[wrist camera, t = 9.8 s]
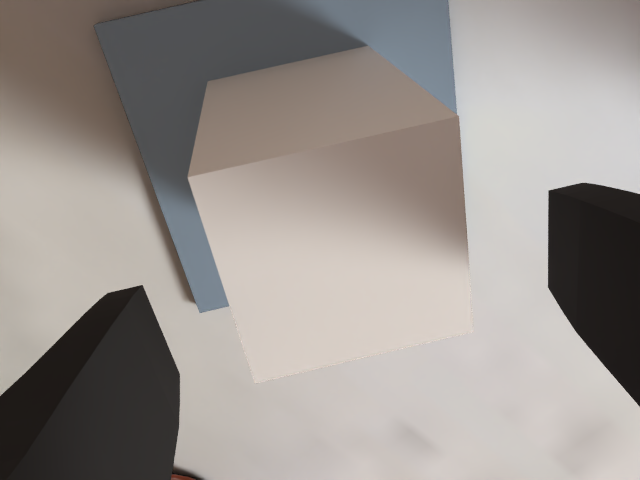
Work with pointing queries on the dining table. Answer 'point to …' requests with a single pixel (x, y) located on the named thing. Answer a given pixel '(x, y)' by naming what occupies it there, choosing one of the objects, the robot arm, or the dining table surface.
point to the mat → (241, 57)
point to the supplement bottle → (180, 477)
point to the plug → (333, 211)
